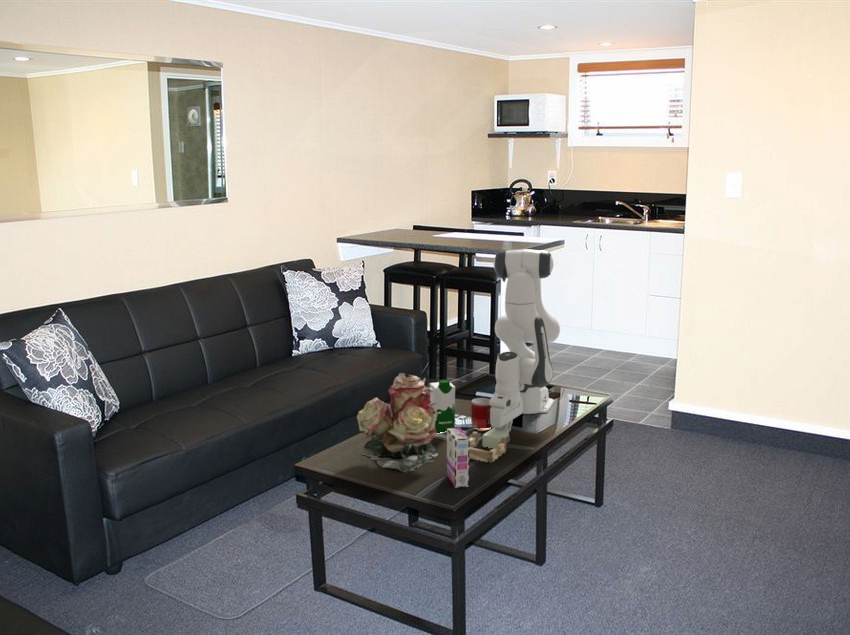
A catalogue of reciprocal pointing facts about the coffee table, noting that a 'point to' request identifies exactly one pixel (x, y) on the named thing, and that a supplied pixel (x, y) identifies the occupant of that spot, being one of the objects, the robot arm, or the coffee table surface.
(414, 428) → the rose bouquet
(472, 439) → the frame
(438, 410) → the milk carton
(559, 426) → the coffee table surface
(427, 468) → the coffee table surface
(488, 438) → the pale green box
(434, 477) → the coffee table surface
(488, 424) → the canned food
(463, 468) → the candy bar box
